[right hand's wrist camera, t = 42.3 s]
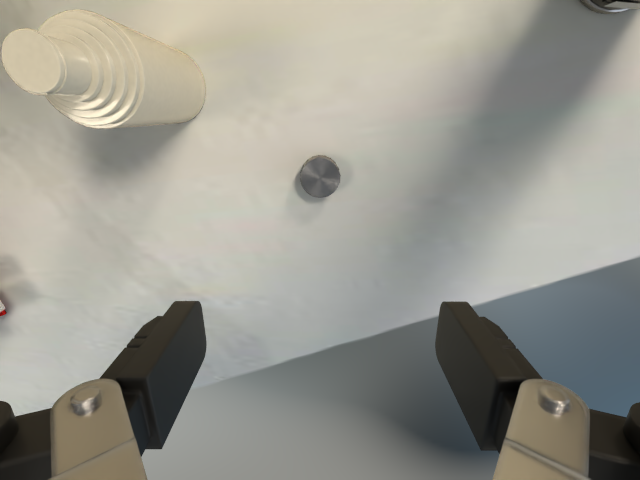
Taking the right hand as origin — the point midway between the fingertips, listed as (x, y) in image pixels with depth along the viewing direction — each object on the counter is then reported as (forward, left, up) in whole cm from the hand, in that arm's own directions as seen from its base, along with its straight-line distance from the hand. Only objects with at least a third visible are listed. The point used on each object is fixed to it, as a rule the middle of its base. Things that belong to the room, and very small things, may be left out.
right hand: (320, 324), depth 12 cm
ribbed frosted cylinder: (-3, -18, -30) cm, 36 cm away
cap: (0, 0, -28) cm, 28 cm away
